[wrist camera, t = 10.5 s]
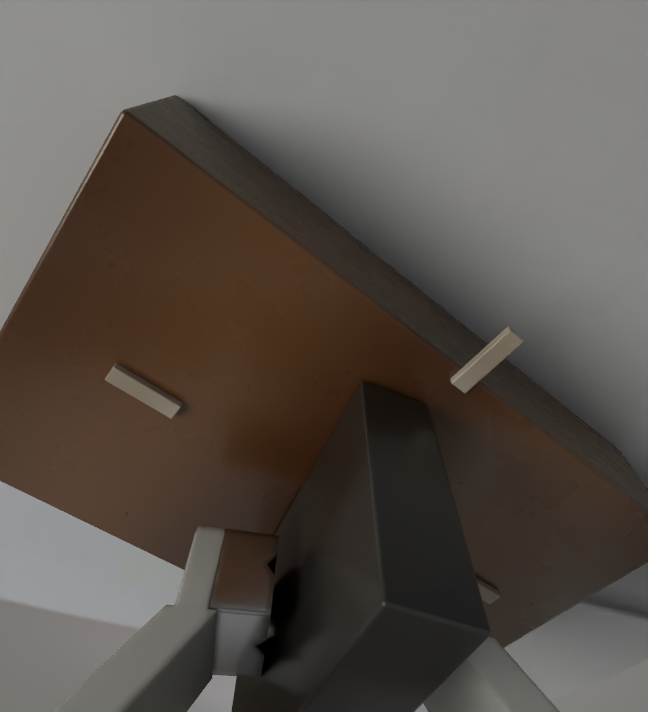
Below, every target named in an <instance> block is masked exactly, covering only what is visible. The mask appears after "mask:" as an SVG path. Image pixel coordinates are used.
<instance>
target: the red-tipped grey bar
mask: <svg viewBox="0 0 648 712" xmlns="http://www.w3.org/2000/svg"><path fill="white" fill-rule="evenodd" d="M275 535H278V536H279V542H278V553H277V560H276V567H275V574H274V576H275V582H274V591H273V599H272V608H271V616H270V623H269V630H268V637H267V639H266V647H265V656H264V662H263V667H262V673H261V678H260V677H244V676H237V678H236V685H235V692H234V699H233V706H232V712H415V711H416V710H417V708H419V707H420V706H421V705H422V703H424V702H425V701H426V700H427V699H428V698H429V697H430V696H431V695H432V694H433V693H434V692H435V691H436V690H437V689H438V688H439V687H440V686H441V685H442V684H443V683H444V682H445V681H446V680H447V679H448V678H449V677H450V676H451V675H452V674H453V673H454V672H455V671H456V670H457V669H458V668H459V667H460V666H461V665H462V664H463V663H464V662H465V661H466V660H467V659H468V658H469V657H470V656H471V655H472V654H473V653H474V652H475V651H476V650H477V649H478V648H479V647H480V646H481V645H482V644H483V643H484V642H485V641H486V640H487V639H488V638H489V637H490V635H491V629H490V626H489V622H488V619H487V615H486V611H485V608H484V604H483V601H482V597H481V594H480V590H479V586H478V583H477V579H476V576H475V572H474V569H473V565H472V562H471V558H470V554H469V551H468V547H467V544H466V540H465V537H464V533H463V529H462V526H461V522H460V519H459V515H458V512H457V508H456V505H455V501H454V497H453V494H452V490H451V487H450V483H449V480H448V476H447V473H446V469H445V465H444V462H443V458H442V455H441V451H440V448H439V444H438V440H437V437H436V433H435V430H434V426H433V423H432V419H431V416H430V412H429V408H428V406H427V405H426V404H423V403H421V402H418V401H415V400H413V399H410V398H407V397H405V396H402V395H399V394H397V393H394V392H391V391H389V390H386V389H383V388H381V387H378V386H375V385H373V384H370V383H368V382H365V381H361V382H360V384H359V386H358V387H357V389H356V391H355V393H354V395H353V396H352V398H351V400H350V402H349V403H348V405H347V407H346V409H345V411H344V412H343V414H342V416H341V418H340V420H339V421H338V423H337V425H336V427H335V428H334V430H333V432H332V434H331V436H330V437H329V439H328V441H327V443H326V444H325V446H324V448H323V450H322V452H321V453H320V455H319V457H318V459H317V461H316V462H315V464H314V466H313V468H312V469H311V471H310V473H309V475H308V477H307V478H306V480H305V482H304V484H303V485H302V487H301V489H300V491H299V493H298V494H297V496H296V498H295V500H294V501H293V503H292V505H291V507H290V509H289V510H288V512H287V514H286V516H285V518H284V519H283V521H282V523H281V525H280V526H279V528H278V530H277V532H276V534H275Z"/></svg>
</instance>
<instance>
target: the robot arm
mask: <svg viewBox="0 0 648 712" xmlns="http://www.w3.org/2000/svg"><path fill="white" fill-rule="evenodd" d="M278 542H279V536H278V535H271V534H263V533H256V532H249V531H241V530H234V529H225V528H217V527H209V526H201V525H199V526H198V528H197V530H196V532H195V535H194V539H193V542H192V546H191V549H190V553H189V557H188V560H187V564H186V567H185V571H184V574H183V578H182V582H181V585H180V589H179V592H178V596H177V599H176V603H175V606H174V605H166V606H165V607H164V608H163V609H161V610H160V611H159V612H158V613H157V614H156V615H155V616H154V617H153V618H152V619H151V620H150V621H149V622H148V623H147V624H145V625H144V626H143V627H142V628H141V629H140V630H139V631H138V632H137V633H136V634H135V635H134V636H133V637H132V638H131V639H130V640H128V641H127V642H126V643H125V644H124V645H123V646H122V647H121V648H120V649H119V650H118V651H117V652H116V653H115V654H114V655H112V656H111V657H110V658H109V659H108V660H107V661H106V662H105V663H104V664H103V665H102V666H101V667H100V668H99V669H98V670H96V672H95V673H93V674H92V675H91V676H90V677H89V678H88V679H87V680H86V681H85V682H84V683H83V684H82V685H81V686H79V687H78V688H77V690H75V691H74V692H73V693H72V694H71V695H70V696H69V697H68V698H67V699H66V700H65V701H63V702H62V703H61V704H60V706H58V707H57V708H56V709H55V710H54V711H53V712H187V711H188V709H189V708H190V707H191V705H192V704H193V703H194V701H195V700H196V699H197V697H198V696H199V695H200V693H201V692H202V691H203V689H204V688H205V687H206V685H207V684H208V683H209V681H210V680H211V679H212V675H228V676H244V677H260V678H261V673H262V667H263V662H264V656H265V647H266V639H267V637H268V630H269V623H270V616H271V608H272V599H273V591H274V582H275V576H274V574H275V567H276V560H277V553H278ZM424 705H425V707H426V708H427V710H428V712H559V710H558V709H557V708H556V707H555V706H554V705H553V704H552V703H551V701H550V700H549V699H548V698H547V697H546V696H545V695H544V693H543V692H542V691H541V690H540V689H539V688H538V687H537V685H536V684H535V683H534V682H533V681H532V680H531V679H530V678H529V676H528V675H527V674H526V673H525V672H524V671H523V670H522V669H521V667H520V666H519V665H518V664H517V663H516V662H515V661H514V660H513V658H512V657H511V656H510V655H509V654H508V653H507V652H506V650H505V649H504V648H503V647H502V646H501V645H500V644H499V643H498V641H497V640H496V639H495V638H492V637H489V638H488V639H487V640H486V641H485V642H484V643H483V644H482V645H481V646H480V647H479V648H478V649H477V650H476V651H475V652H474V653H473V654H472V655H471V656H470V657H469V658H468V659H467V660H466V661H465V662H464V663H463V664H462V665H461V666H460V667H459V668H458V669H457V670H456V671H455V672H454V673H453V674H452V675H451V676H450V677H449V678H448V679H447V680H446V681H445V682H444V683H443V684H442V685H441V686H440V687H439V688H438V689H437V690H436V691H435V692H434V693H433V694H432V695H431V696H430V697H429V698H428V699H427V700H426V701H425V702H424Z"/></svg>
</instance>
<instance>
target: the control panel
mask: <svg viewBox="0 0 648 712" xmlns="http://www.w3.org/2000/svg"><path fill="white" fill-rule="evenodd" d="M523 342H524V340H523V339H522V337H521V336H519V335H518V334H517V333H516V332H515V331H513V330H512V329H511V328H510V327H506V328H505V329H504V330H503V331H502V332H501V333H500V334H499V335H498V336H497V337H495V338H494V339H493V340H492V341H491V342H490V343H489V344H488V345H487V344H486V343H485V342H483V341H482V340H481V339H480V338H478V337H477V336H476V335H475V334H473V333H472V332H471V331H470V330H468V329H467V328H466V327H465V326H463V325H462V324H461V323H460V322H458V321H457V320H456V319H455V318H453V317H452V316H451V315H450V314H448V313H447V312H446V311H445V310H443V309H442V308H441V307H440V306H438V305H437V304H436V303H435V302H433V301H432V300H431V299H430V298H428V297H427V296H426V295H425V294H424V293H422V292H421V291H420V290H419V289H417V288H416V287H415V286H414V285H412V284H411V283H410V282H409V281H407V280H406V279H405V278H404V277H402V276H401V275H400V274H399V273H397V272H396V271H395V270H394V269H392V268H391V267H390V266H389V265H387V264H386V263H385V262H384V261H382V260H381V259H380V258H379V257H377V256H376V255H375V254H374V253H372V252H371V251H370V250H369V249H368V248H366V247H365V246H364V245H363V244H361V243H360V242H359V241H358V240H356V239H355V238H354V237H353V236H351V235H350V234H349V233H348V232H346V231H345V230H344V229H343V228H341V227H340V226H339V225H338V224H336V223H335V222H334V221H333V220H331V219H330V218H329V217H328V216H326V215H325V214H324V213H323V212H321V211H320V210H319V209H318V208H316V207H315V206H314V205H313V204H312V203H310V202H309V201H308V200H307V199H305V198H304V197H303V196H302V195H300V194H299V193H298V192H297V191H295V190H294V189H293V188H292V187H290V186H289V185H288V184H287V183H285V182H284V181H283V180H282V179H280V178H279V177H278V176H277V175H275V174H274V173H273V172H272V171H270V170H269V169H268V168H267V167H265V166H264V165H263V164H262V163H260V162H259V161H258V160H257V159H256V158H254V157H253V156H252V155H251V154H249V153H248V152H247V151H246V150H244V149H243V148H242V147H241V146H239V145H238V144H237V143H236V142H234V141H233V140H232V139H231V138H229V137H228V136H227V135H226V134H224V133H223V132H222V131H221V130H219V129H218V128H217V127H216V126H214V125H213V124H212V123H211V122H209V121H208V120H207V119H206V118H204V117H203V116H202V115H201V114H199V113H198V112H197V111H196V110H195V109H193V108H192V107H191V106H190V105H188V104H187V103H186V102H185V101H183V100H182V99H181V98H180V97H178V96H176V95H174V96H171V97H167V98H164V99H160V100H157V101H153V102H150V103H146V104H143V105H139V106H136V107H132V108H129V109H125V110H123V111H122V112H121V113H120V115H119V117H118V118H117V120H116V122H115V124H114V126H113V127H112V129H111V131H110V133H109V135H108V136H107V138H106V140H105V142H104V144H103V146H102V147H101V149H100V151H99V153H98V155H97V156H96V158H95V160H94V162H93V164H92V166H91V167H90V169H89V171H88V173H87V175H86V176H85V178H84V180H83V182H82V184H81V185H80V187H79V189H78V191H77V193H76V195H75V196H74V198H73V200H72V202H71V204H70V205H69V207H68V209H67V211H66V213H65V215H64V216H63V218H62V220H61V222H60V224H59V225H58V227H57V229H56V231H55V233H54V234H53V236H52V238H51V240H50V242H49V244H48V245H47V247H46V249H45V251H44V253H43V254H42V256H41V258H40V260H39V262H38V264H37V265H36V267H35V269H34V271H33V273H32V274H31V276H30V278H29V280H28V282H27V283H26V285H25V287H24V289H23V291H22V293H21V294H20V296H19V298H18V300H17V302H16V303H15V305H14V307H13V309H12V311H11V313H10V314H9V316H8V318H7V320H6V322H5V323H4V325H3V327H2V329H1V331H0V481H2V482H4V483H6V484H8V485H10V486H12V487H14V488H16V489H18V490H21V491H23V492H25V493H27V494H29V495H31V496H33V497H35V498H37V499H39V500H41V501H43V502H45V503H47V504H49V505H52V506H54V507H56V508H58V509H60V510H62V511H64V512H66V513H68V514H70V515H72V516H74V517H76V518H78V519H80V520H82V521H85V522H87V523H89V524H91V525H93V526H95V527H97V528H99V529H101V530H103V531H105V532H107V533H109V534H111V535H113V536H116V537H118V538H120V539H122V540H124V541H126V542H128V543H130V544H132V545H134V546H136V547H138V548H140V549H142V550H144V551H147V552H149V553H151V554H153V555H155V556H157V557H159V558H161V559H163V560H165V561H167V562H169V563H171V564H173V565H175V566H178V567H180V568H182V569H184V570H185V567H186V564H187V560H188V557H189V553H190V549H191V546H192V542H193V539H194V535H195V532H196V530H197V528H198V526H199V525H201V526H209V527H217V528H225V529H234V530H241V531H249V532H256V533H263V534H271V535H275V534H276V532H277V530H278V528H279V526H280V525H281V523H282V521H283V519H284V518H285V516H286V514H287V512H288V510H289V509H290V507H291V505H292V503H293V501H294V500H295V498H296V496H297V494H298V493H299V491H300V489H301V487H302V485H303V484H304V482H305V480H306V478H307V477H308V475H309V473H310V471H311V469H312V468H313V466H314V464H315V462H316V461H317V459H318V457H319V455H320V453H321V452H322V450H323V448H324V446H325V444H326V443H327V441H328V439H329V437H330V436H331V434H332V432H333V430H334V428H335V427H336V425H337V423H338V421H339V420H340V418H341V416H342V414H343V412H344V411H345V409H346V407H347V405H348V403H349V402H350V400H351V398H352V396H353V395H354V393H355V391H356V389H357V387H358V386H359V384H360V382H361V381H365V382H368V383H370V384H373V385H375V386H378V387H381V388H383V389H386V390H389V391H391V392H394V393H397V394H399V395H402V396H405V397H407V398H410V399H413V400H415V401H418V402H421V403H423V404H426V405H427V406H428V408H429V412H430V416H431V419H432V423H433V426H434V430H435V433H436V437H437V440H438V444H439V448H440V451H441V455H442V458H443V462H444V465H445V469H446V473H447V476H448V480H449V483H450V487H451V490H452V494H453V497H454V501H455V505H456V508H457V512H458V515H459V519H460V522H461V526H462V529H463V533H464V537H465V540H466V544H467V547H468V551H469V554H470V558H471V562H472V565H473V569H474V572H475V576H476V579H477V583H478V586H479V590H480V594H481V597H482V601H483V604H484V608H485V611H486V615H487V619H488V622H489V626H490V629H491V635H490V637H492V638H495V639H496V640H497V641H498V643H499V644H500V645H501V646H502V647H503V648H504V647H506V646H508V645H509V644H511V643H513V642H514V641H516V640H518V639H519V638H521V637H523V636H524V635H526V634H528V633H529V632H531V631H533V630H534V629H536V628H538V627H539V626H541V625H543V624H544V623H546V622H548V621H550V620H551V619H553V618H555V617H556V616H558V615H560V614H561V613H563V612H565V611H566V610H568V609H570V608H571V607H573V606H575V605H576V604H578V603H580V602H581V601H583V600H585V599H586V598H588V597H590V596H591V595H593V594H595V593H596V592H598V591H600V590H602V589H603V588H605V587H607V586H608V585H610V584H612V583H613V582H615V581H617V580H618V579H620V578H622V577H623V576H625V575H627V574H628V573H630V572H632V571H633V570H635V569H637V568H638V567H640V566H642V565H643V564H645V563H647V562H648V488H647V487H646V486H645V484H644V483H643V481H642V480H641V479H640V477H639V476H638V475H637V473H636V472H635V470H634V469H633V468H632V466H631V465H630V464H629V462H628V461H627V460H626V458H625V457H624V455H623V454H622V453H621V452H620V451H619V450H618V449H616V448H615V447H614V446H613V445H611V444H610V443H609V442H608V441H606V440H605V439H604V438H603V437H601V436H600V435H599V434H598V433H597V432H595V431H594V430H593V429H592V428H590V427H589V426H588V425H587V424H585V423H584V422H583V421H582V420H580V419H579V418H578V417H577V416H575V415H574V414H573V413H572V412H570V411H569V410H568V409H567V408H565V407H564V406H563V405H562V404H560V403H559V402H558V401H557V400H555V399H554V398H553V397H552V396H550V395H549V394H548V393H547V392H545V391H544V390H543V389H542V388H541V387H539V386H538V385H537V384H536V383H534V382H533V381H532V380H531V379H529V378H528V377H527V376H526V375H524V374H523V373H522V372H521V371H519V370H518V369H517V368H516V367H514V366H513V365H512V364H511V363H509V362H508V361H507V360H506V359H505V358H506V357H507V356H508V355H509V354H510V353H512V352H513V351H514V350H515V349H516V348H517V347H518V346H519V345H521V344H522V343H523Z"/></svg>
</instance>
